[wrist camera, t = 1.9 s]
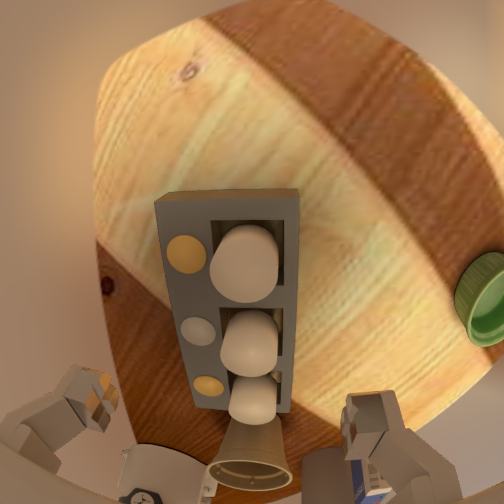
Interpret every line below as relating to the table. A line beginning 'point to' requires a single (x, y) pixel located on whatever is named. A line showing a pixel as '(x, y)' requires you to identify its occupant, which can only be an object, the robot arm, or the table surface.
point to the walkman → (368, 483)
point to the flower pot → (251, 457)
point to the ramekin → (482, 299)
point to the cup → (327, 477)
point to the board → (207, 296)
